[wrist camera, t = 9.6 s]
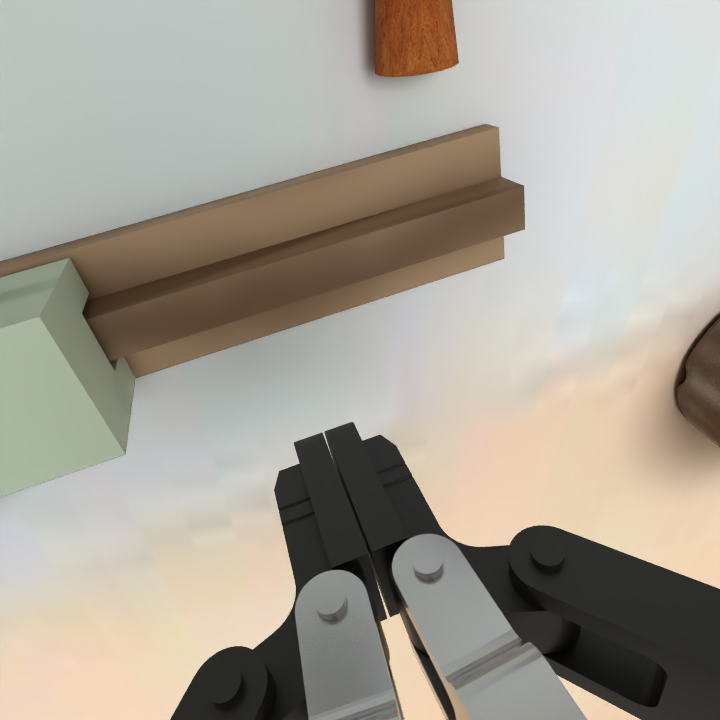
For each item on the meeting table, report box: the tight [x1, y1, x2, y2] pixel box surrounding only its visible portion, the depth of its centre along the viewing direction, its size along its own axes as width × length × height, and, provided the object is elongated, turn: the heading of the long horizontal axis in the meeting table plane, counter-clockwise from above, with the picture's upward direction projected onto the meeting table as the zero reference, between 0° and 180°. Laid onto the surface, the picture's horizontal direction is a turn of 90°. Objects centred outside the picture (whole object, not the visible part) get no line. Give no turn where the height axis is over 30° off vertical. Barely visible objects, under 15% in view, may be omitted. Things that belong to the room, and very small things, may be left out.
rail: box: [0, 124, 525, 378], centre depth 22 cm, size 6×26×5 cm, turn 102°
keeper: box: [0, 258, 135, 497], centre depth 20 cm, size 6×5×6 cm
